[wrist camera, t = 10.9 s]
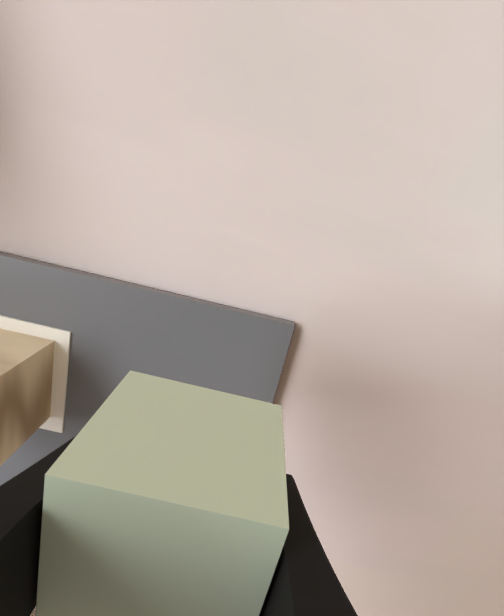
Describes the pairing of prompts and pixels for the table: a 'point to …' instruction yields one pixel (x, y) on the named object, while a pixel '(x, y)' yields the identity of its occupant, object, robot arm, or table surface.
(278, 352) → the baseplate
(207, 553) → the sage block
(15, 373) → the maple block
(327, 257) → the table surface
